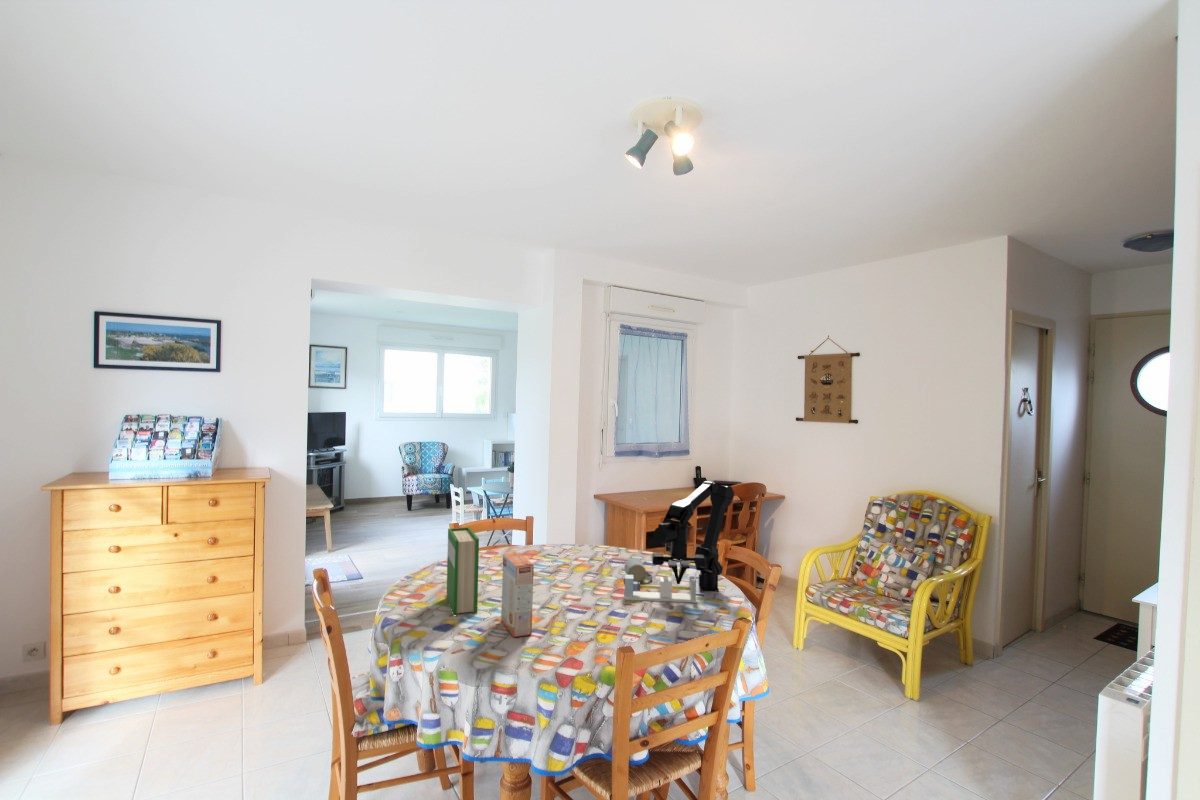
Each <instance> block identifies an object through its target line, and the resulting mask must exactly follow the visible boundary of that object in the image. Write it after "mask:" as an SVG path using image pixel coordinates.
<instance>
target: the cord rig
mask: <svg viewBox="0 0 1200 800" xmlns="http://www.w3.org/2000/svg"><path fill="white" fill-rule="evenodd" d="M641 589H646V590H660V585H653V584H641V582H633V575H627V574H624V600H627V601H648V602H649V601H650V602H652V601H653V602H671V603H672V602H677V603H697V580H696V579H695V575H689V586H683V585H681V586H680V585H679V586H677V585H672V591H674V590H675V591H688V593H685V592H684V593H679V592H672V597H660V592H659V591H658V592H657V591H655V592H653V591H641Z"/></svg>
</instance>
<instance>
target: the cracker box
mask: <svg viewBox="0 0 1200 800" xmlns="http://www.w3.org/2000/svg"><path fill="white" fill-rule="evenodd" d="M534 565H535V564H534V563H533V562H532V561H530V560H529V559H527V558H526V557H525V556H524V555H523V554H522V553H520V552H515V553H513V552H512V553H506V554H502V583H501V584H502V587H501V614H500V615H501V618H500V620H501V622H502V624H503V625H504V626H505V628H506V629H507V631H508V632H509V633H510V635H511V636H512V637H513V638H518V637H525V636H532V634H533V633H532V631H533V604H534V603H533V601H534V599H533V598H534V597H533V596H534V567H535V566H534Z"/></svg>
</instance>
